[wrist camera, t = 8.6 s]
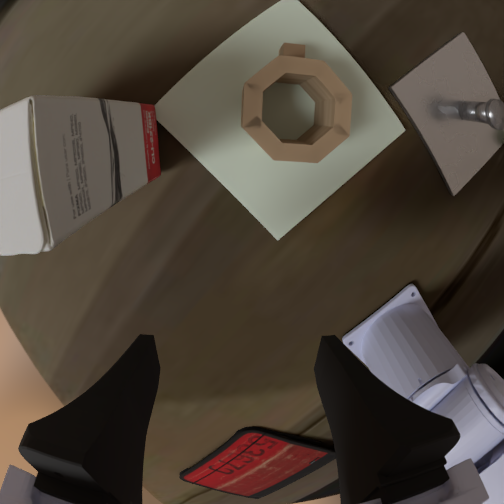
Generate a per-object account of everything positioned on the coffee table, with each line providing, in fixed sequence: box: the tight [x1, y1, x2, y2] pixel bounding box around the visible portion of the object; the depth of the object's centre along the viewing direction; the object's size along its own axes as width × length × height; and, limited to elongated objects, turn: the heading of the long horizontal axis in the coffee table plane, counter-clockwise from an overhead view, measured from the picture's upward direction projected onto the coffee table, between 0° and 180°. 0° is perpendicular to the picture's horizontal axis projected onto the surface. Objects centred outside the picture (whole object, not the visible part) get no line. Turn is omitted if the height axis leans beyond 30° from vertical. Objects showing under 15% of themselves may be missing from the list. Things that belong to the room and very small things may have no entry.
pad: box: [155, 0, 405, 240], centre depth 17 cm, size 12×12×1 cm
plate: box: [388, 32, 504, 196], centre depth 15 cm, size 10×10×4 cm
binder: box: [180, 427, 336, 499], centre depth 35 cm, size 16×2×21 cm
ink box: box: [0, 95, 161, 256], centre depth 12 cm, size 8×5×12 cm, turn 92°
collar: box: [241, 43, 352, 163], centre depth 15 cm, size 7×5×4 cm
